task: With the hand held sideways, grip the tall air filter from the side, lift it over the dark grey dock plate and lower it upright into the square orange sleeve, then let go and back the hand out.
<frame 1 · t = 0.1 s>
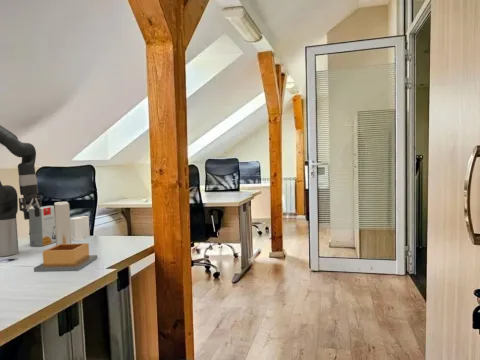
hand: (32, 218, 176), 17 cm above the table, tool pointing down, fingers open, 8 cm apart
dock: (67, 264, 155), on the table
calculator: (52, 238, 217), on the table
hard drive box: (46, 243, 200), on the table
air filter: (64, 255, 172), on the table
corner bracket: (78, 238, 212), on the table
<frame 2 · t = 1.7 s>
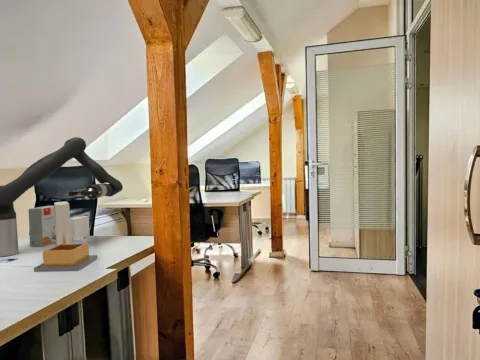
hand: (76, 194, 181), 28 cm above the table, tool horizontal, fingers open, 8 cm apart
nothing on the table moved.
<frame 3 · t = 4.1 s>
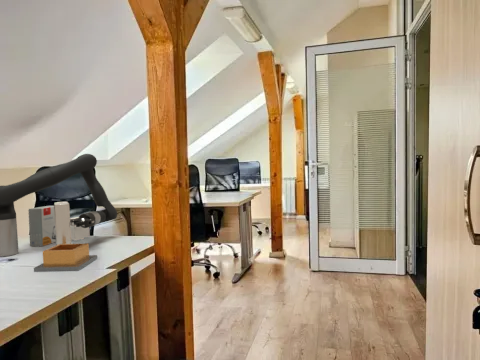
hand: (68, 224, 176), 13 cm above the table, tool horizontal, fingers open, 8 cm apart
nothing on the table moved.
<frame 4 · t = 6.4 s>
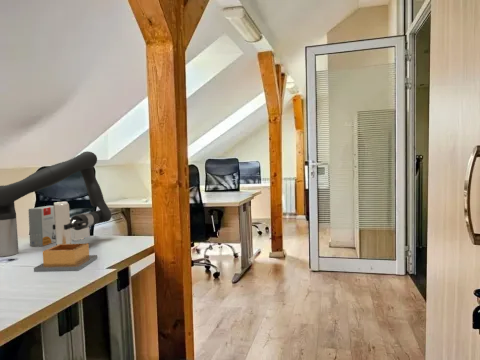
hand: (59, 227, 169), 14 cm above the table, tool horizontal, fingers closed on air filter, 5 cm apart
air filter: (64, 255, 172), on the table, touching gripper
everything else where it was.
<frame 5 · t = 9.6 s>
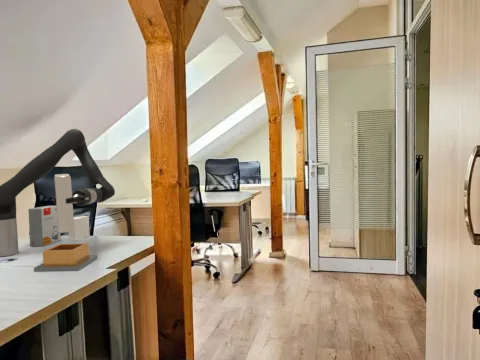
hand: (60, 201, 157), 27 cm above the table, tool horizontal, fingers closed on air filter, 5 cm apart
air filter: (66, 231, 160), point 13 cm above the table, touching gripper
everything else where it was.
when the fingers open (16 cm above the table, at t = 13.1 s): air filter drops 1 cm, resting on dock.
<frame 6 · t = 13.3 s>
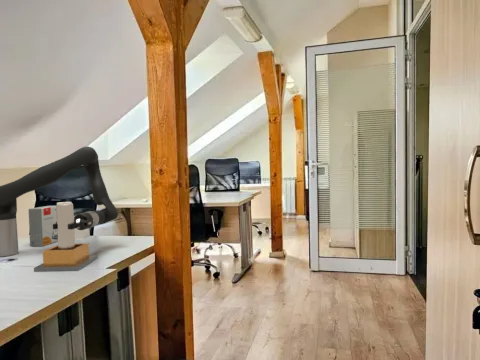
hand: (61, 226, 152), 16 cm above the table, tool horizontal, fingers open, 7 cm apart
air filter: (67, 261, 155), point 1 cm above the table, touching dock
everything else where it was.
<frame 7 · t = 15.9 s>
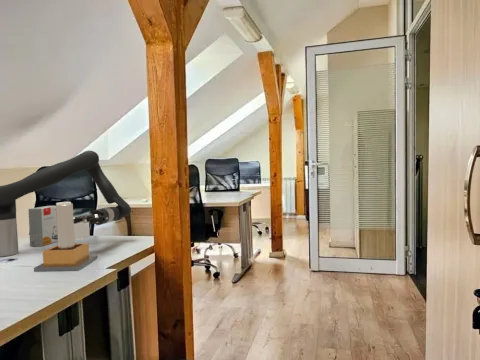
hand: (81, 221, 165), 17 cm above the table, tool horizontal, fingers open, 8 cm apart
nothing on the table moved.
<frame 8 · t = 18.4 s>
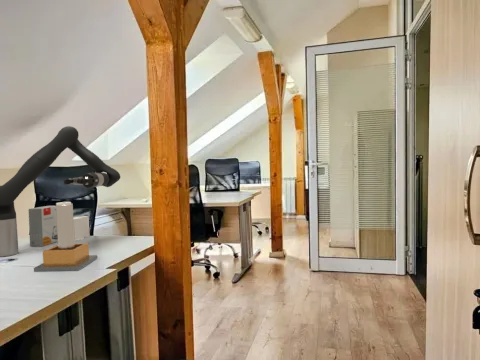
hand: (72, 181, 174), 34 cm above the table, tool horizontal, fingers open, 8 cm apart
nothing on the table moved.
at the end: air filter 0.3 cm off-centre on the dock, point 1.3 cm above the dock's base; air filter tilted 0°; the gripper is holding nothing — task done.
